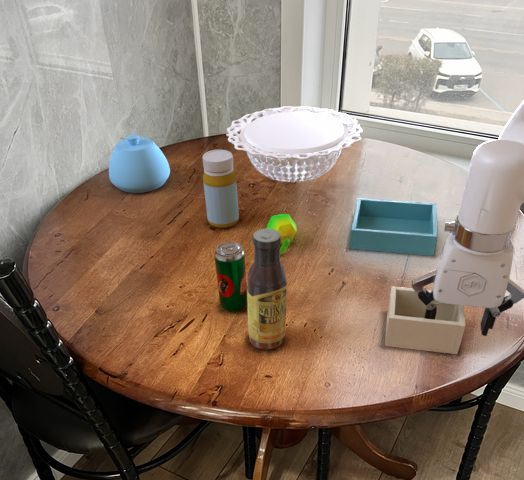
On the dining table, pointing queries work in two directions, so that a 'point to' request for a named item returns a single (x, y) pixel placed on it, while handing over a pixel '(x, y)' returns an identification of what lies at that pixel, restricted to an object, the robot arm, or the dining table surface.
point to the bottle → (220, 188)
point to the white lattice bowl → (294, 140)
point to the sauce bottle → (266, 292)
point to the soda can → (231, 276)
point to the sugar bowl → (138, 165)
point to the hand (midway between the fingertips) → (456, 326)
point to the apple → (283, 229)
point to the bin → (394, 226)
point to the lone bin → (422, 324)
